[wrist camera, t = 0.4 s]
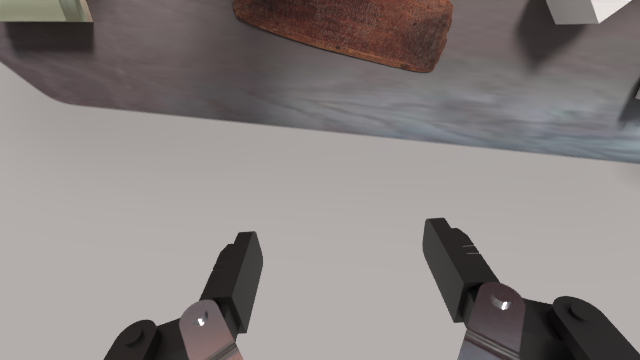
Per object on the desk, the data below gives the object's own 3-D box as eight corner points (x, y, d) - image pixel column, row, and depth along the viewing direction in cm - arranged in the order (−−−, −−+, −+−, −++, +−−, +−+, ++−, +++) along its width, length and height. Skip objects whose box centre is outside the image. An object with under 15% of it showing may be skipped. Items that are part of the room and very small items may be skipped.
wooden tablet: (471, -2, 31) (433, 86, 35) (461, 3, 33) (426, 85, 37) (242, -93, 28) (226, 16, 31) (247, -82, 30) (231, 19, 33)
